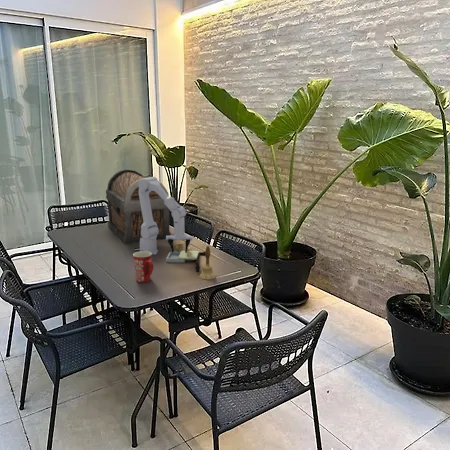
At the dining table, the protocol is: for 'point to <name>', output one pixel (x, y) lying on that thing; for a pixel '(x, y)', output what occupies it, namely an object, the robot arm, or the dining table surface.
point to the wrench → (198, 261)
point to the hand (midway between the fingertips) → (179, 252)
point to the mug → (143, 266)
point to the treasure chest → (133, 208)
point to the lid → (188, 254)
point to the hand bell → (207, 267)
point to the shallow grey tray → (174, 258)
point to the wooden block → (179, 246)
